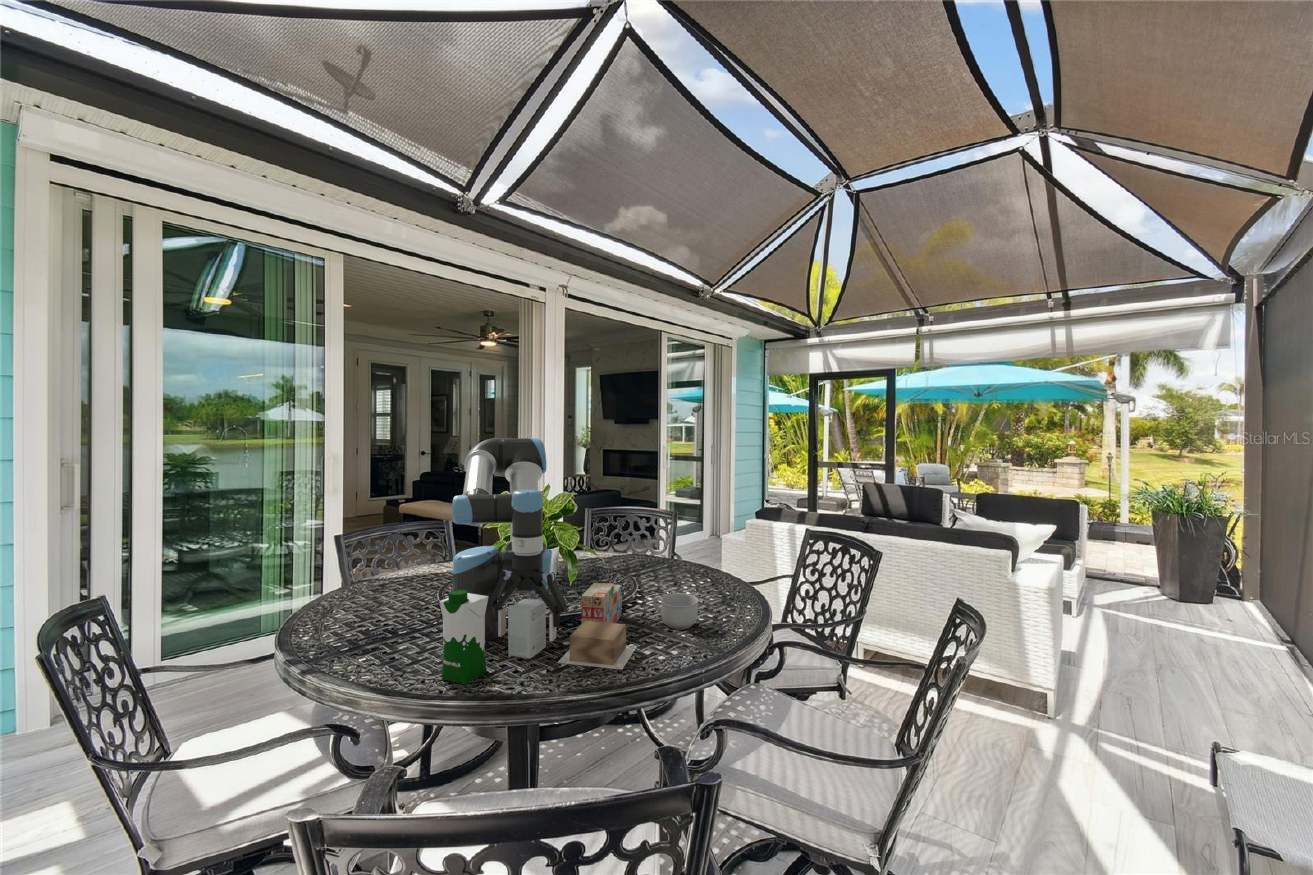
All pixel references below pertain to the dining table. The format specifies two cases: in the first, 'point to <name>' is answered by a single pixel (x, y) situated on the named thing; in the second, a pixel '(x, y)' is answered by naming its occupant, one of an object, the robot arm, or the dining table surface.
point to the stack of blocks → (602, 603)
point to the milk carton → (463, 636)
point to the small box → (526, 628)
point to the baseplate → (617, 665)
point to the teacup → (678, 610)
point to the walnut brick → (598, 642)
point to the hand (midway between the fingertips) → (527, 637)
